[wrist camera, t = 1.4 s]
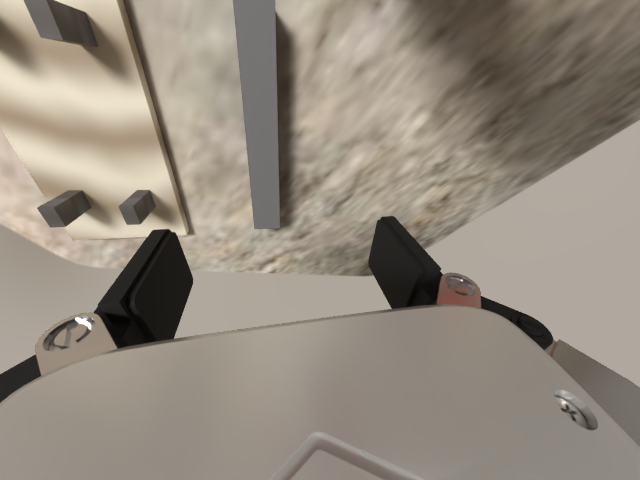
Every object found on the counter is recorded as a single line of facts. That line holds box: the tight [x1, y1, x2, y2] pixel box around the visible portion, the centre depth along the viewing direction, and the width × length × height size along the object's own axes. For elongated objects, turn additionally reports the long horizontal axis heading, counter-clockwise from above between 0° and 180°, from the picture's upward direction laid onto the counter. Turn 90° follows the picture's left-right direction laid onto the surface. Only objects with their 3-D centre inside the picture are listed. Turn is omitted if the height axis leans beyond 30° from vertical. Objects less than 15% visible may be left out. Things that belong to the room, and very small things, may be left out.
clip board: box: [0, 0, 189, 240], centre depth 20 cm, size 24×12×5 cm, turn 176°
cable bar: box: [233, 0, 280, 229], centre depth 24 cm, size 20×3×4 cm, turn 176°
